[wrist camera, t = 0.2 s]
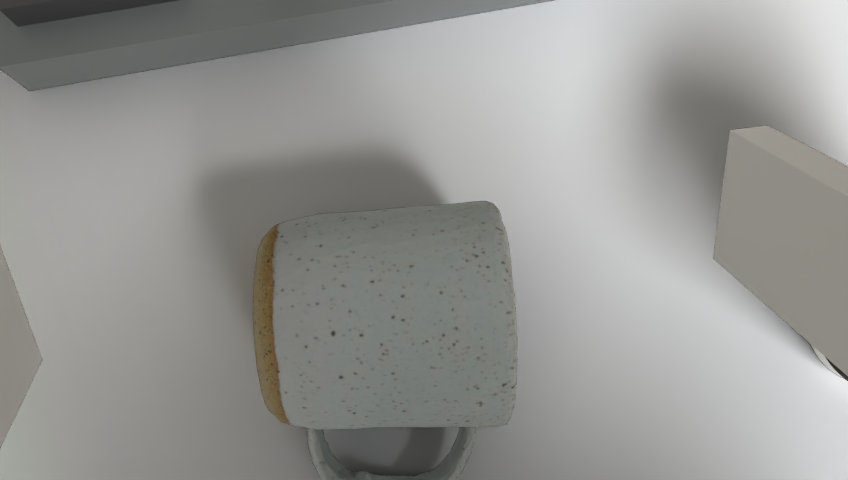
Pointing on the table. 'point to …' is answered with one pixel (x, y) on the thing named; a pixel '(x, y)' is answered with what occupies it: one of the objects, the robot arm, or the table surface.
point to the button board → (187, 31)
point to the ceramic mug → (387, 325)
